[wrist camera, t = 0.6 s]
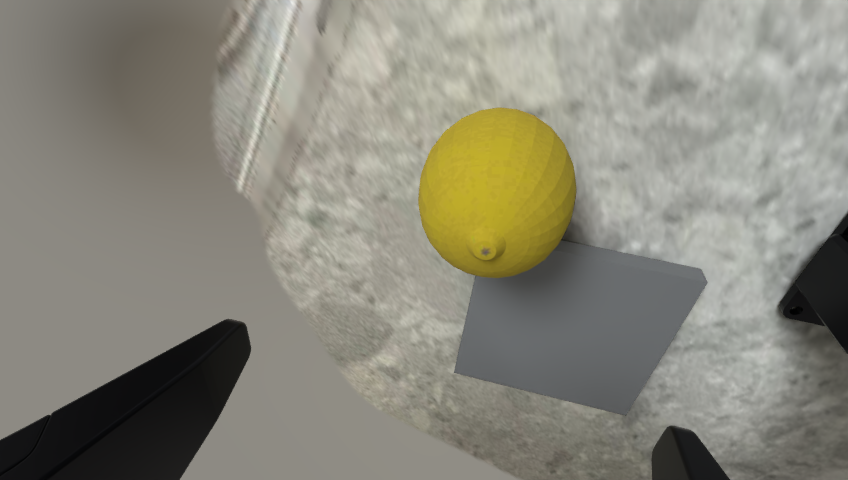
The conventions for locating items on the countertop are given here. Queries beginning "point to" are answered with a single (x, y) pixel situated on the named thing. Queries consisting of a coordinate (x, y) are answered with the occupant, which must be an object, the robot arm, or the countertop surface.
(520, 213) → the lemon
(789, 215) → the countertop surface
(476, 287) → the mat
